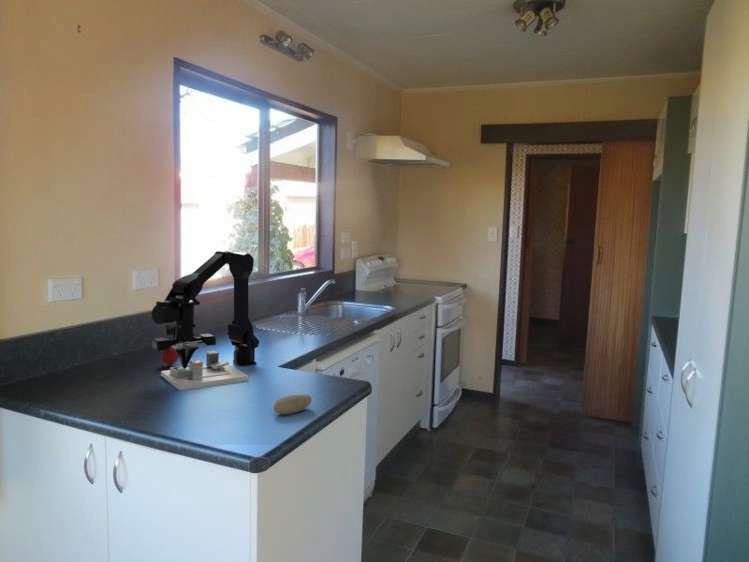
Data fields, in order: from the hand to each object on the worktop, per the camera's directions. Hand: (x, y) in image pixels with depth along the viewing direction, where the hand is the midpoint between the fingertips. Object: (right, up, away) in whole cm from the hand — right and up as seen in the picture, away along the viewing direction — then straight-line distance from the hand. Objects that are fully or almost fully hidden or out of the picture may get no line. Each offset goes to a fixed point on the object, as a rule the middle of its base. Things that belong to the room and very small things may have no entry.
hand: (184, 368), depth 181 cm
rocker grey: (+9, 0, +8) cm, 12 cm away
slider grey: (+6, -1, +10) cm, 12 cm away
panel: (+5, -4, +3) cm, 7 cm away
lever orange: (+5, -3, -3) cm, 6 cm away
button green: (0, -2, 0) cm, 2 cm away
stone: (+38, -9, -25) cm, 46 cm away
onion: (-10, -2, +15) cm, 18 cm away
